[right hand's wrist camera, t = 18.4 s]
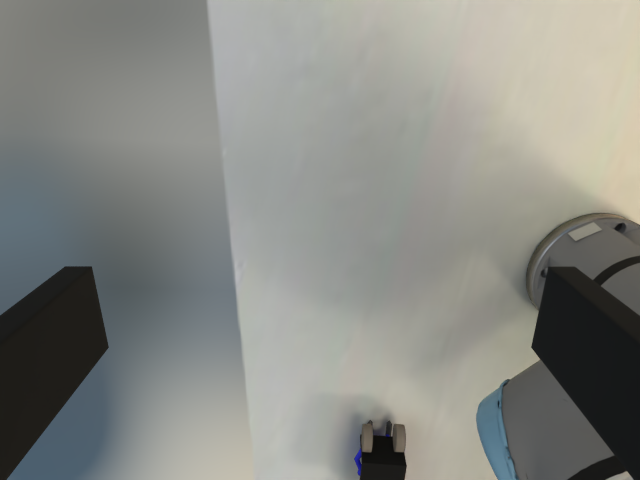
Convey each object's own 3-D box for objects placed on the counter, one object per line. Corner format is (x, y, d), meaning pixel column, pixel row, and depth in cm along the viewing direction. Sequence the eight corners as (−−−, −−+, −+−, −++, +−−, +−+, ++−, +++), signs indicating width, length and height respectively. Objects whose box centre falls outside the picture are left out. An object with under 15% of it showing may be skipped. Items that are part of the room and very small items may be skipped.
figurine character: (355, 403, 64) (350, 487, 67) (360, 439, 56) (354, 531, 60) (401, 405, 64) (393, 488, 68) (411, 441, 56) (402, 532, 60)
